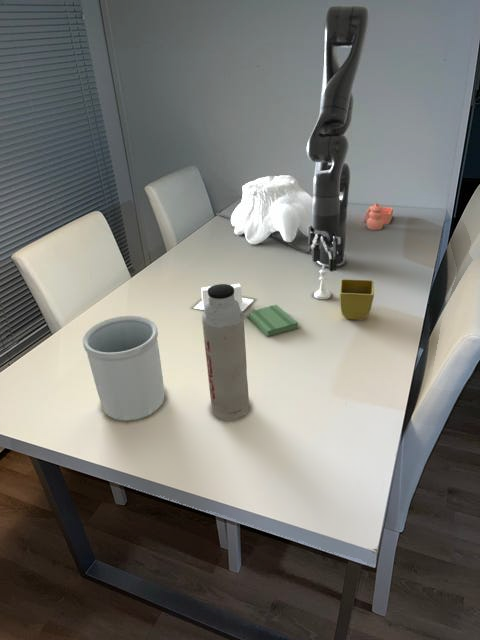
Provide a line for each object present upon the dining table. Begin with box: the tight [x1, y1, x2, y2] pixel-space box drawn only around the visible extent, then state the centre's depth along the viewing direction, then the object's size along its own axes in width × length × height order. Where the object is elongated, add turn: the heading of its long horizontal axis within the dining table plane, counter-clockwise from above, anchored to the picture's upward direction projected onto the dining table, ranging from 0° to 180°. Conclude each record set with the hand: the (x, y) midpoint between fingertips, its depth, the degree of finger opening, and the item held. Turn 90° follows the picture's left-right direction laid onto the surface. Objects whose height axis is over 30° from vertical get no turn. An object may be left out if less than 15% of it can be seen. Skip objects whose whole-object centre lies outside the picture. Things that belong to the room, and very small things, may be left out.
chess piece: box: [313, 265, 332, 300], centre depth 144 cm, size 5×5×10 cm
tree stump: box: [230, 174, 313, 245], centre depth 197 cm, size 40×37×23 cm
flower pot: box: [339, 278, 375, 321], centre depth 132 cm, size 9×9×9 cm
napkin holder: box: [193, 283, 254, 313], centre depth 144 cm, size 15×11×6 cm
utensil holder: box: [82, 315, 165, 422], centre depth 103 cm, size 15×15×18 cm
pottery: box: [365, 202, 394, 231], centre depth 199 cm, size 18×10×10 cm, turn 157°
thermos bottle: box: [201, 283, 250, 421], centre depth 97 cm, size 8×8×28 cm
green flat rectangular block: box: [247, 304, 299, 337], centre depth 134 cm, size 12×9×2 cm
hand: (324, 265), depth 141 cm, fingers open, 8 cm apart
